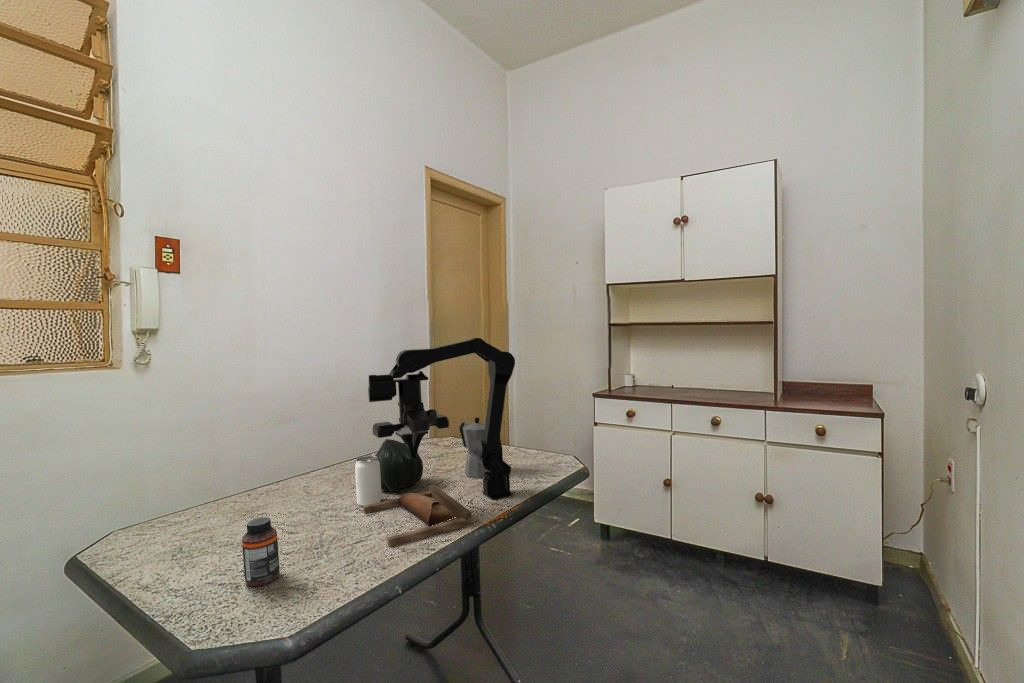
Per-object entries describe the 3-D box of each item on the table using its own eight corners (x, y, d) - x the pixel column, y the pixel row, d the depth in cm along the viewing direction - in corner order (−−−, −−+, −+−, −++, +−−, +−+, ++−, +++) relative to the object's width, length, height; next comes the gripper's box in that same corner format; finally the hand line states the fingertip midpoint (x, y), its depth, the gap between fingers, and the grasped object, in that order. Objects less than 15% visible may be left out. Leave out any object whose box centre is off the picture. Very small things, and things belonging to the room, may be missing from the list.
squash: (433, 471, 137) (416, 427, 144) (382, 484, 128) (367, 437, 136) (421, 493, 146) (406, 451, 154) (373, 507, 138) (359, 462, 145)
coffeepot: (504, 474, 149) (502, 417, 148) (481, 482, 142) (479, 422, 142) (473, 465, 160) (470, 412, 159) (450, 472, 153) (448, 416, 153)
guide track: (436, 495, 132) (436, 484, 132) (473, 523, 112) (473, 511, 111) (363, 511, 122) (362, 500, 122) (389, 546, 102) (388, 533, 101)
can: (374, 507, 125) (372, 462, 125) (352, 506, 126) (349, 461, 126) (386, 498, 131) (383, 455, 131) (364, 497, 133) (362, 455, 132)
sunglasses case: (460, 517, 116) (447, 497, 114) (439, 539, 112) (425, 519, 110) (427, 498, 130) (415, 480, 128) (407, 517, 127) (394, 499, 125)
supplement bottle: (253, 572, 93) (249, 515, 93) (284, 569, 94) (281, 513, 93) (238, 589, 87) (234, 528, 87) (272, 586, 88) (268, 525, 87)
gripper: (382, 406, 111) (385, 473, 111) (456, 397, 120) (459, 459, 120) (370, 401, 120) (373, 462, 121) (439, 393, 130) (442, 450, 130)
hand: (413, 458), depth 123 cm, fingers closed
